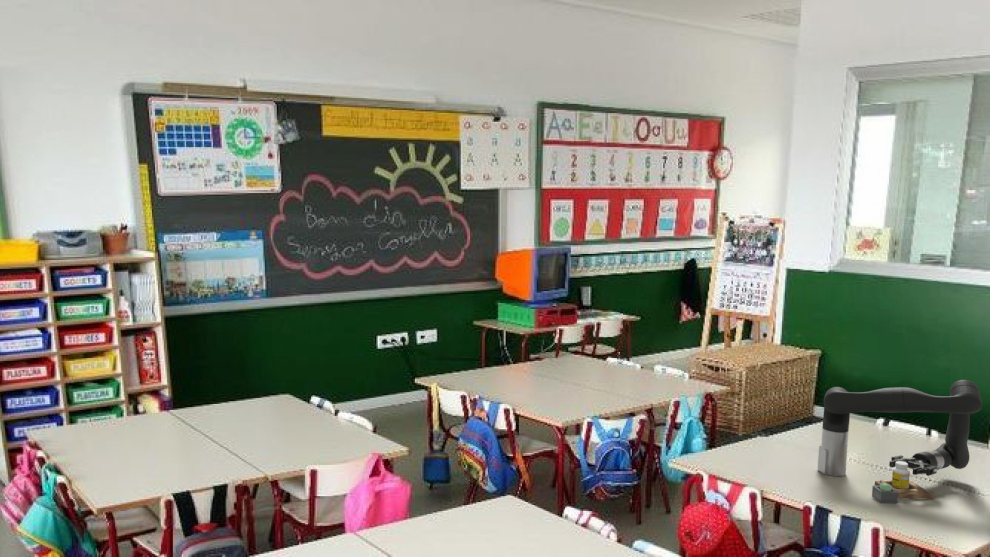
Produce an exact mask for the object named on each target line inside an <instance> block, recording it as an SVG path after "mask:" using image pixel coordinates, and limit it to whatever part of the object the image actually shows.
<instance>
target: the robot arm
mask: <svg viewBox="0 0 990 557" xmlns="http://www.w3.org/2000/svg"><path fill="white" fill-rule="evenodd" d="M982 408H983V400H982V397H981V391H980V389H979V386H978V385H977V384H976V383H975V382H973V381H971V380H968V379H960V380H956V381H955V382H953V383H952V384H951V386H950V388H949V396H945V395H944V396H943V395H942V396H941V395H932V394H929V393H926V392H924V391H921V390H918V389H915V388H912V387H904V386H899V387H897V386H895V387H884V388H878V389H873V390H870V391H864V392H854V391H851V392H850V391H848V390H846V389H845V388H843V387H840V386H833V387H831V388H829V389H828V390H827V391H826V392H825V394H824V397H823V417H822V431H821V445H819V446H818V457H817V458H818V460H817V470H818V472H819V471H820V473H822V474H823V475H826V476H832V477H833V476H834V477H843V476H846V473H847V460H848V458H847V456H848V446H849V445H848V442H849V431H850V430H849V427H850V418H851V417H850V415H851V413H852V414H853V413H864V412H865V413H866V412H867V413H868V412H871V413H893V414H894V413H941V414H949V417H948V418H949V419H948V424H947V429H946V434H945V438H944V442H943V443H941V445H939V447H937V448H936V449H933V450H926V451H920V452H916V453H914V455H912V456H911V457H904V455H903V454H902V455H900V454H899V455H896V456H891V457H890V460H889V463H888V464H889V465H888V466H889V467H890V468H894V467H896V466H895V462H896V461H902V462H906V463H908V468H907V469H911V470H912V475H914V476H916V475H920V474H921V475H925V476H928V477H929V476H932V475H935V474H937V473H938V471H939V470H943V469H946V468H949V467H950V466H951V467H953V468H954V469H958V470H963V469H965V468H967V466H968V465H969V462H970V451H969V446H968V441H969V436H970V419H971V418H970V416H971V414H976V413H978V412H980V411H982Z"/></svg>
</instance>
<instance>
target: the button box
mask: <svg viewBox="0 0 990 557" xmlns="http://www.w3.org/2000/svg"><path fill="white" fill-rule="evenodd" d="M871 488H872V490H871V498H875V501H877V502H878V501H879V502H878V503H880V504H899V499H898V493H899V492H897V491H896V490H894V489H893V488H892V487H891V491H881V490H880V486H876V485H872V487H871Z"/></svg>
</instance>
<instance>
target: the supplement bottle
mask: <svg viewBox="0 0 990 557" xmlns="http://www.w3.org/2000/svg"><path fill="white" fill-rule="evenodd" d="M895 466H896V467H892V478H891V479H892V487H893V488H894V489H909V481H910V477H911V476H910V475H911V474H910V473H911V472H910V470H909V468H908V463H906V462H902V461H896V462H895Z"/></svg>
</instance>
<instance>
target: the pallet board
mask: <svg viewBox="0 0 990 557" xmlns="http://www.w3.org/2000/svg"><path fill="white" fill-rule="evenodd" d="M880 483H886V484H890V485H891V487H892V480H891V479H890V480H889V479H888V480H887V479H884V480H883V479H880V480H875V481H874V486H880ZM892 488H893V487H892ZM893 489H894V488H893ZM894 490H896V491H897V492H899V493H898V498H926V499H925V500H933V499H934V494H932V493H931V492H930V491H928V490H926V489H925V488H923V487H921V486H920V485H918V484H917V483H916V482H914V481H911V480H909V489H894Z"/></svg>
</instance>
